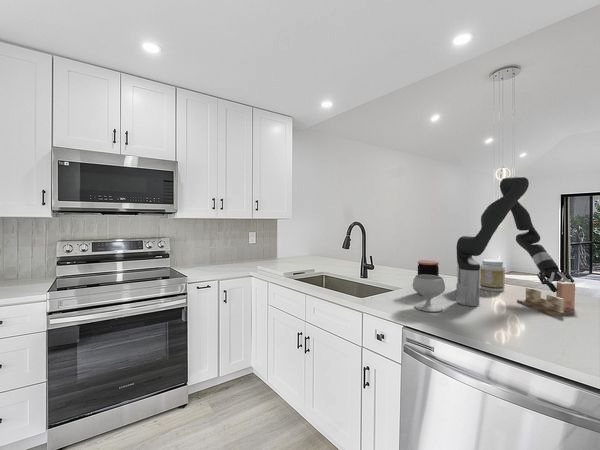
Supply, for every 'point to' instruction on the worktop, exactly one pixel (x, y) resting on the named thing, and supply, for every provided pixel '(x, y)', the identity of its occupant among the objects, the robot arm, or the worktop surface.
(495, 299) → the worktop surface
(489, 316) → the worktop surface
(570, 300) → the slotted upright
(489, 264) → the supplement tub
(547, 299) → the ridged rail
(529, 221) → the robot arm
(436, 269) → the coffee jar
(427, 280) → the chalice
